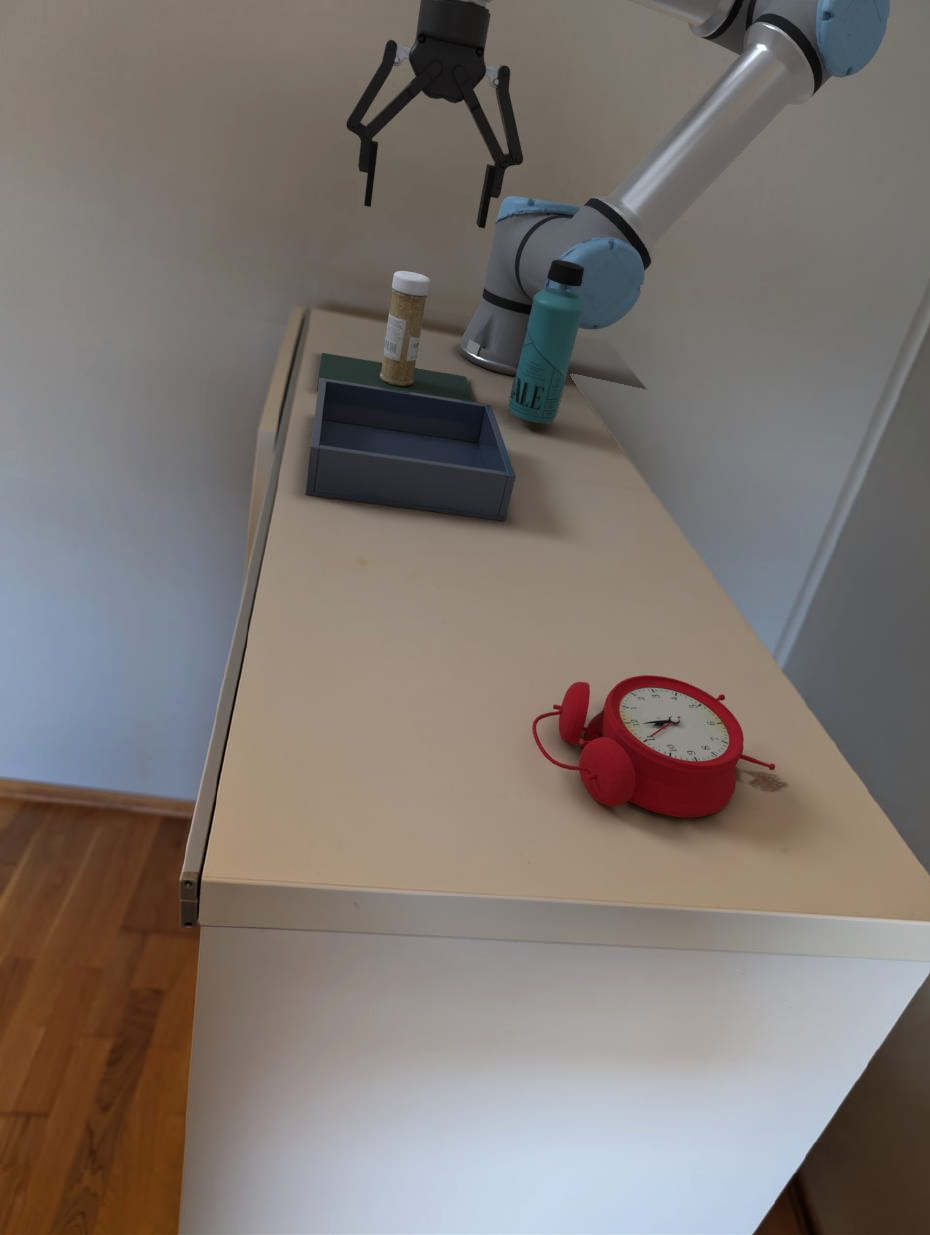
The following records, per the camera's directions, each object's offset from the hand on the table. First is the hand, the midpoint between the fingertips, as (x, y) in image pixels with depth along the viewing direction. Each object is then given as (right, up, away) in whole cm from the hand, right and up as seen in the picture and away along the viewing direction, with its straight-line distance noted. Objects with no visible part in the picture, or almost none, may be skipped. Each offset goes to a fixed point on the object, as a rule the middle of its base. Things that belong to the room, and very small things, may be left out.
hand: (424, 215), depth 102 cm
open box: (-2, -32, -10) cm, 33 cm away
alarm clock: (+16, -58, -44) cm, 74 cm away
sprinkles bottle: (-4, -17, +11) cm, 20 cm away
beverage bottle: (+13, -23, +8) cm, 28 cm away
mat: (-4, -17, +11) cm, 21 cm away
